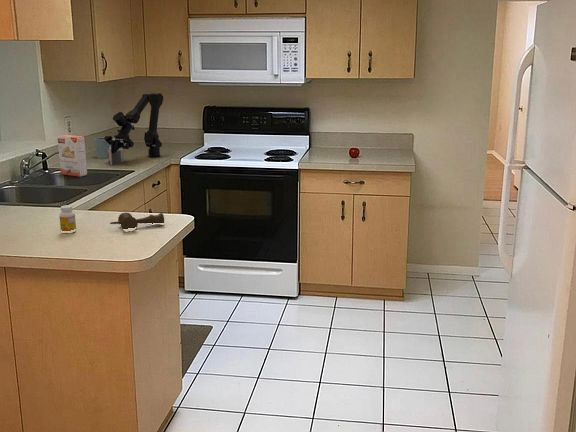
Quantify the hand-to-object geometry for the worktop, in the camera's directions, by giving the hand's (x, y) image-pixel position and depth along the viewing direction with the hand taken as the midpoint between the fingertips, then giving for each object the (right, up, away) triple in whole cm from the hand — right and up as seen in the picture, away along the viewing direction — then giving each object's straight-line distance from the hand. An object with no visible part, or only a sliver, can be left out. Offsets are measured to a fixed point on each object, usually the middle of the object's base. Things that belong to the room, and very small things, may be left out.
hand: (112, 153), depth 364 cm
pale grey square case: (-2, -6, +5) cm, 8 cm away
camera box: (-2, -4, +14) cm, 14 cm away
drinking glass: (-13, 0, +29) cm, 32 cm away
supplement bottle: (+21, -43, -133) cm, 141 cm away
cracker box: (-13, -15, -27) cm, 33 cm away
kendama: (+45, -41, -126) cm, 140 cm away
